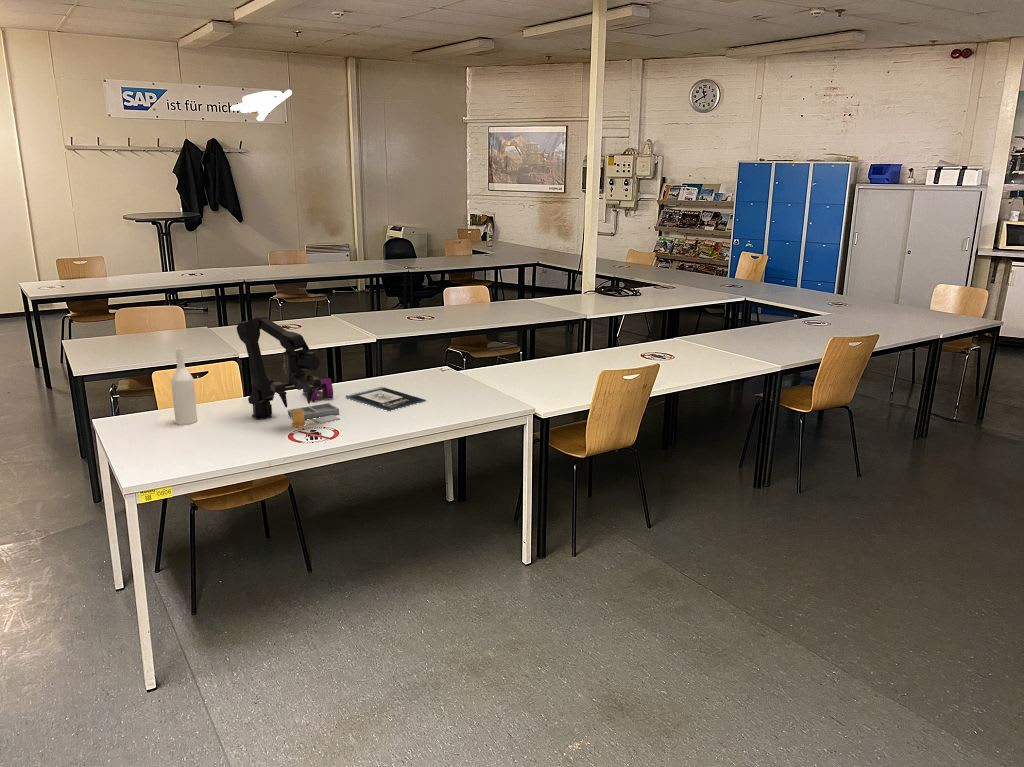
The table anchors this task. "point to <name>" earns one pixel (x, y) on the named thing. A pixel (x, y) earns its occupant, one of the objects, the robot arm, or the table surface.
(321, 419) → the lid
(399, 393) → the sketchbook
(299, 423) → the orange drawer knob
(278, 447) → the table surface
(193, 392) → the bottle
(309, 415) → the housing
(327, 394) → the mounting bracket
